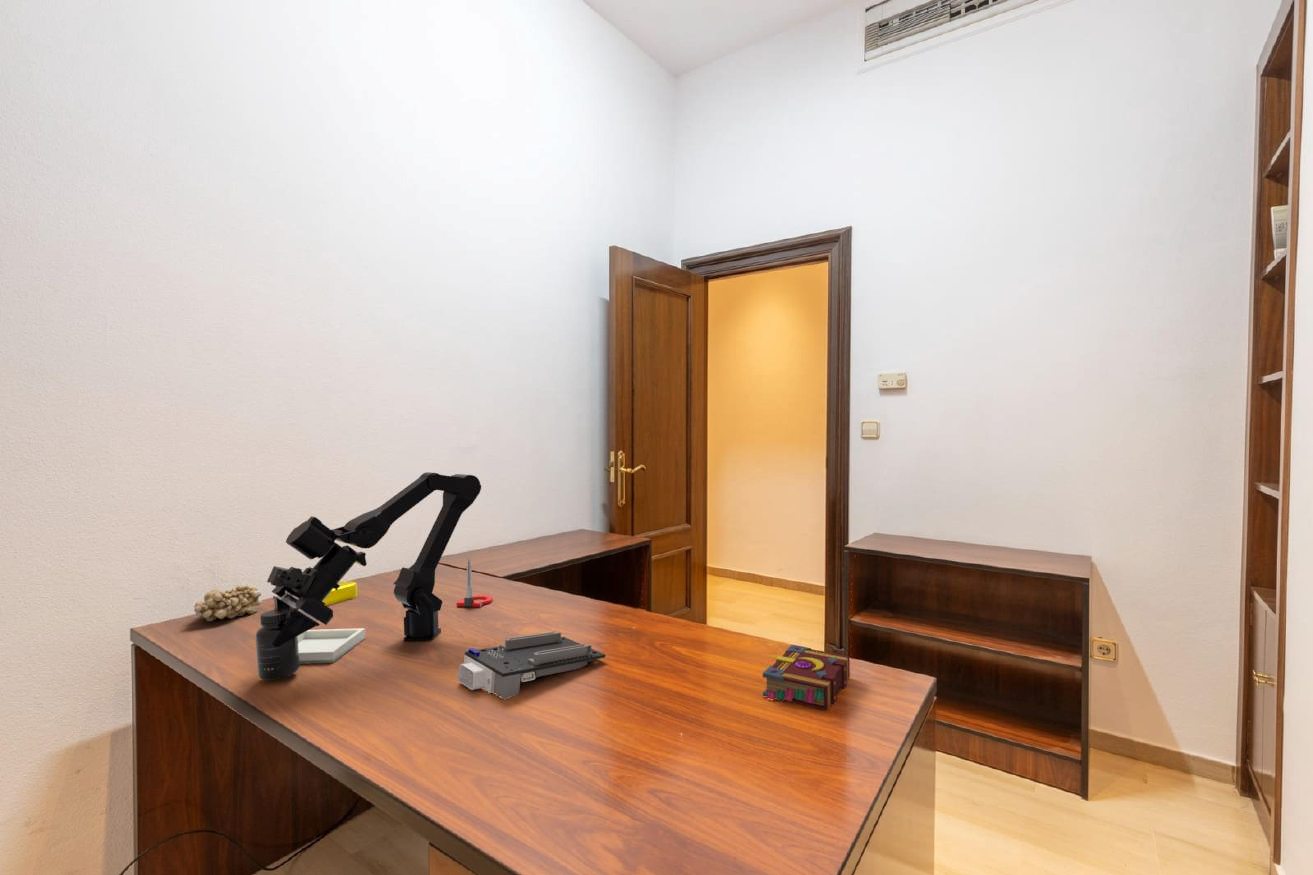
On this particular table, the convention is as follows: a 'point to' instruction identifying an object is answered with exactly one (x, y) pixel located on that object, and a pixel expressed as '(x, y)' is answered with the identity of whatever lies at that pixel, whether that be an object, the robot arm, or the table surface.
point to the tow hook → (469, 599)
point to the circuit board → (522, 662)
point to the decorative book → (807, 677)
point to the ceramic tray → (327, 644)
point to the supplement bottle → (273, 658)
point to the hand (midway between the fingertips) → (268, 641)
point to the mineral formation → (229, 603)
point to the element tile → (341, 592)
